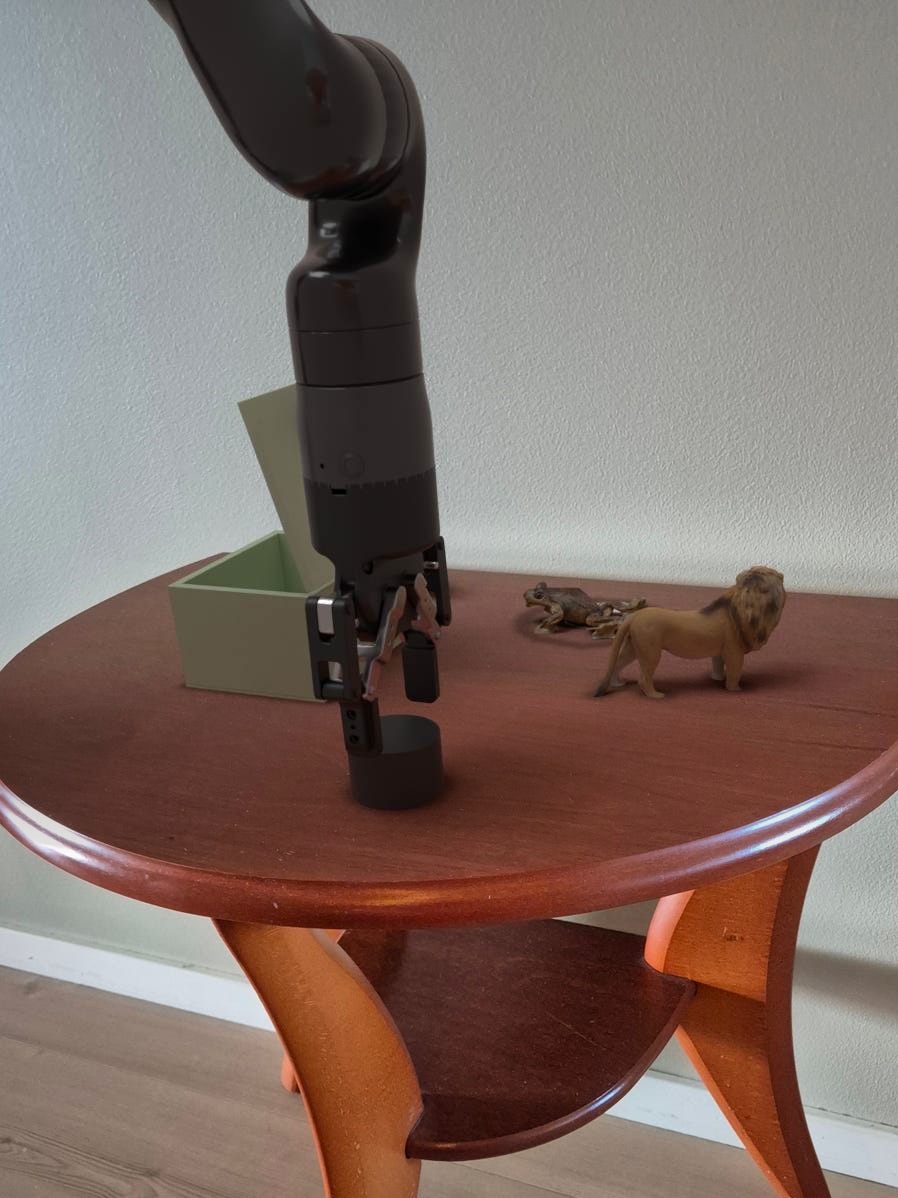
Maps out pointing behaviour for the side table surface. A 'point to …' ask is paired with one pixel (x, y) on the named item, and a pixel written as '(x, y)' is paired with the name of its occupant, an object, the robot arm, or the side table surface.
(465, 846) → the side table surface
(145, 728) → the side table surface
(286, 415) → the lid
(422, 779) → the dark solid cylinder
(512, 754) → the side table surface
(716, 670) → the lion figurine
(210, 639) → the chest
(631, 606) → the frog figurine
